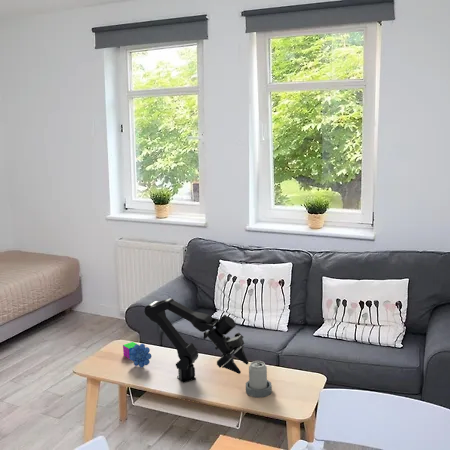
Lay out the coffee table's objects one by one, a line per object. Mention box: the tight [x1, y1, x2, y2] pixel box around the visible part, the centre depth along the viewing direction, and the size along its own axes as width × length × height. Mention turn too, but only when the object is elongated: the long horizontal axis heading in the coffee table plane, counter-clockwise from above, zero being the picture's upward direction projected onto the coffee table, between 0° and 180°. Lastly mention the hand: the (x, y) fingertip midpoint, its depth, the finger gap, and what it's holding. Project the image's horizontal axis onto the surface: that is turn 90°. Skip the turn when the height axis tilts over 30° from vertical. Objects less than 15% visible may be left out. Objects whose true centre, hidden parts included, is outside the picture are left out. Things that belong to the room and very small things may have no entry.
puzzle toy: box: [122, 341, 137, 360], centre depth 276 cm, size 6×6×6 cm
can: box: [248, 360, 268, 390], centre depth 237 cm, size 8×8×12 cm
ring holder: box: [245, 379, 273, 398], centre depth 238 cm, size 11×11×3 cm
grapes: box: [129, 343, 152, 369], centre depth 263 cm, size 12×7×12 cm, turn 64°
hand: (244, 368), depth 239 cm, fingers open, 9 cm apart
